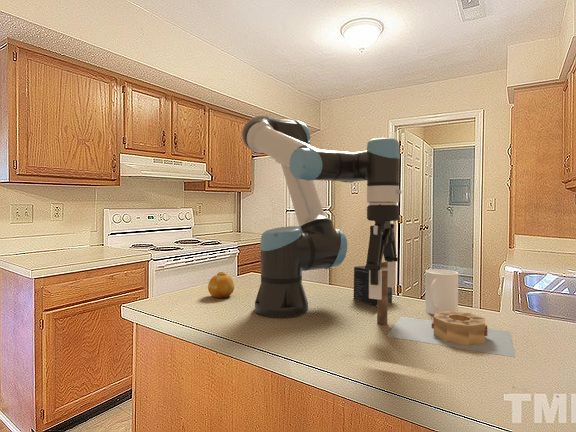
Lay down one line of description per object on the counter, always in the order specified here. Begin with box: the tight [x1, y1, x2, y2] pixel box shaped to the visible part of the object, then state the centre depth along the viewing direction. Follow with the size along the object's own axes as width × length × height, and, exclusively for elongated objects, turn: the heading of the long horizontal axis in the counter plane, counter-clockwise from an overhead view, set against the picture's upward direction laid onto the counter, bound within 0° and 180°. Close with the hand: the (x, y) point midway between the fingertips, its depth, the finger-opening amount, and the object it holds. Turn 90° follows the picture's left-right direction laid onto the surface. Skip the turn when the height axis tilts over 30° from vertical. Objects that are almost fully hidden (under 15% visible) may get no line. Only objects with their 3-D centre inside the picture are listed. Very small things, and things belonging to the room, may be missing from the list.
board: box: [386, 316, 516, 358], centre depth 83 cm, size 24×16×1 cm, turn 62°
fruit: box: [207, 271, 235, 299], centre depth 121 cm, size 8×8×8 cm
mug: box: [424, 268, 459, 316], centre depth 98 cm, size 12×8×12 cm
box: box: [352, 265, 393, 307], centre depth 115 cm, size 11×7×10 cm, turn 34°
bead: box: [432, 310, 488, 345], centre depth 81 cm, size 11×10×4 cm
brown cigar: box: [376, 261, 388, 326], centre depth 90 cm, size 2×2×16 cm
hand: (382, 292), depth 90 cm, fingers open, 13 cm apart
